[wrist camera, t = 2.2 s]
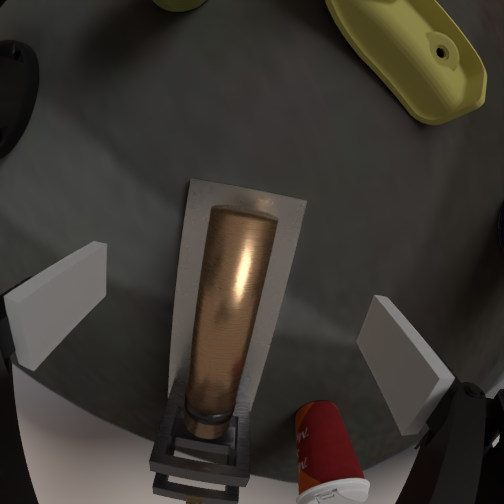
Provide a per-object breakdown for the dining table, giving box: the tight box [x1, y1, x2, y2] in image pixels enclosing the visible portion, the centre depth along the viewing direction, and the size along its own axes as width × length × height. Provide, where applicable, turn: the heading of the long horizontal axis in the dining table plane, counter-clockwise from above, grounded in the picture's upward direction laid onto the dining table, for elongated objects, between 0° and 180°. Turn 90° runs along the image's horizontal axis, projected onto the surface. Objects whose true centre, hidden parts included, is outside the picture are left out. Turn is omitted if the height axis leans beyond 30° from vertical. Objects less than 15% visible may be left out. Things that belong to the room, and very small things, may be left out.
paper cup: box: [295, 400, 370, 504], centre depth 27 cm, size 8×8×14 cm
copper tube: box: [184, 205, 279, 439], centre depth 22 cm, size 20×5×5 cm, turn 169°
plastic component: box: [325, 0, 487, 125], centre depth 19 cm, size 20×7×10 cm
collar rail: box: [149, 178, 307, 504], centre depth 24 cm, size 32×10×13 cm, turn 169°
